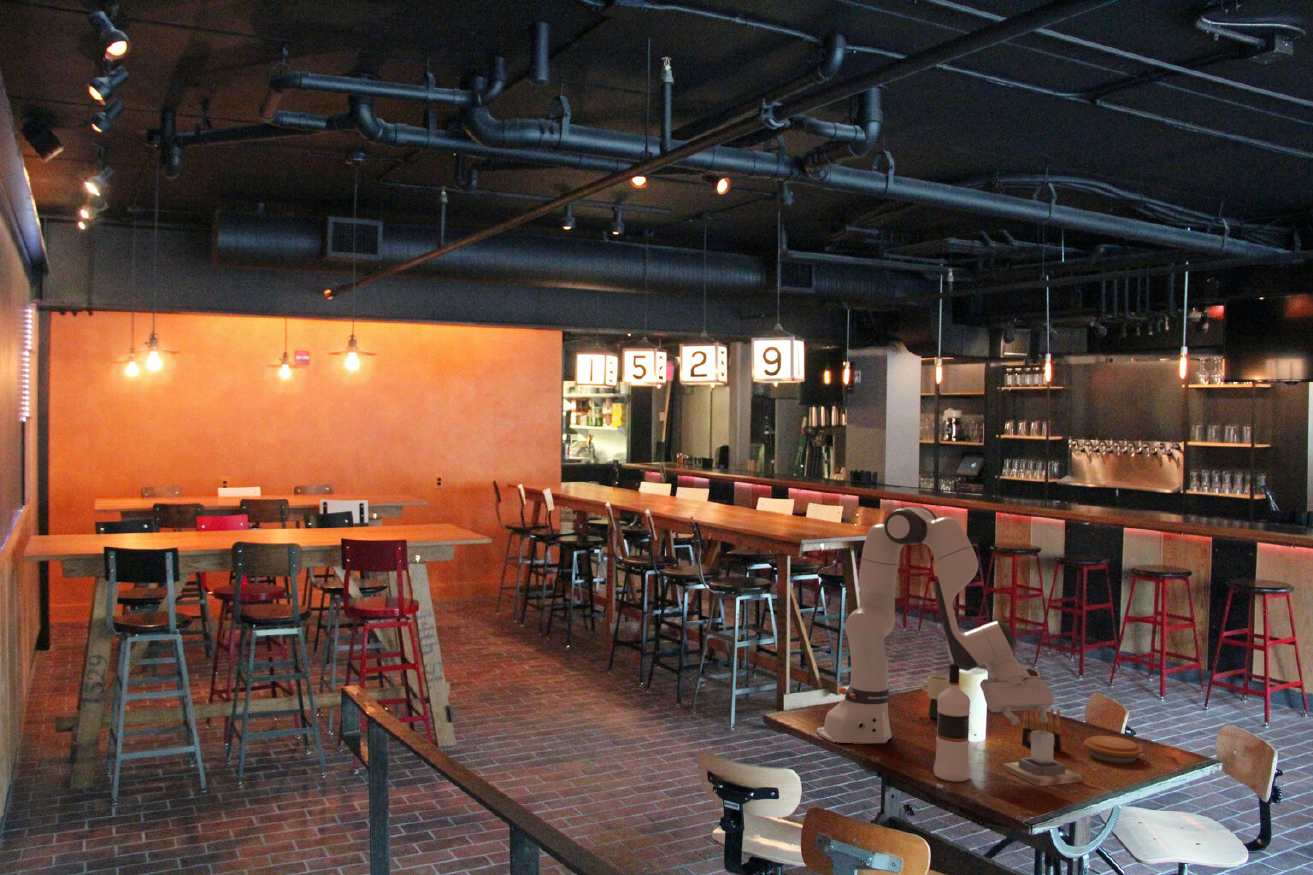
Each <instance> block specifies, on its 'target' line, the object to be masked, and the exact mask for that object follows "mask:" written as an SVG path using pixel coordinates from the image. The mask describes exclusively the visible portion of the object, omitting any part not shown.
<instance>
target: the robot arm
mask: <svg viewBox="0 0 1313 875" xmlns="http://www.w3.org/2000/svg"><path fill="white" fill-rule="evenodd" d="M969 539H970V538H969V537H968V535H967V534H966V532H965V530H964V529H963V528H962V526H961V525H960V523H959V522H958V521H957V519H955V518H954V517H950V516H942V517H939V518H938V517H937V516H936V514H935V513H934V512H933V511H932V510H931V509H929V508H927V507H923V506H905V507H902V508H900V507H899V508H897V509H894V510H893V511H891V512H890V513H889V514H888V515H887V516H886V518H885V521H884V523H877V524H874V525H872V526H870V528H869V529H868V532H867V534H866V537H865V540H864V544H863V547H862V552H861V559H860V566H859V574H858V578H857V586H858V588H859V589H858V590H859V606H858V608H856V609H855V610H853V611H852V612H851V613H850V614H849V616H848V617H847V619H846V621H845V625H844V631H845V634H846V636H847V641H848V647H849V654H850V656H849V657H850V684H849V686H848V687H847V688H845V687H844V686H840V687H839V688H838V690H837V691H838V693H839V694H841V695H842V696H843V695H844V699H842V700H841V701H840V702H839V703H838V704H837V705H835V706H833V707H832V709H830V710H829V711H828V712H827V713H826V715H825V720H824V725H823V726H822V727H817V728H816V734H817V733H818V734H817V735H818V736H820V737H821V736H822V737H821V738H823V737H824V738H825V740H826V739H827V741H828V742H832V743H835V742H842V743H844V742H845V743H847V742H848V743H852V742H854V743H853V744H887V743H888V740H889V739H892V737H893V735H892V731H891V730H892V729H891V727H890V720H889V709H888V708H889V707H888V706H889V703H890V702H889V701H890V689H889V687H888V685H889V684H888V682H889V661H888V659H887V655H886V647H885V638H886V637H887V636H889V635H890V634H891V633H892V631H893V629H894V628H895V624H896V615H895V612H896V611H895V610H896V598H895V597H896V595H895V594H896V583H897V578H898V577H897V576H898V569H899V562H900V556H901V551H902V549H903V547H904V546H908V545H909V546H911V545H918V544H924V545H926V546H927V547H928V548H929V550H930V552H931V553H932V555H933V557H934V561H935V562H936V565H937V569H938V575H937V579H936V580H935V582H934V592H935V598H936V601H937V608H938V611H939V615H940V619H941V623H942V628H943V631H944V635H945V638H946V650H947V654H948V657H949V660H950V662H951V663H956V664H959V665H960V666H959V669H960V670H962V671H967V672H968V671H971V670H973V669H974V668H977V667H979V666H980V665H983V664H984V665H985V666H986V668H987V671H988V675H989V677H990V679H986V678H984V679H982V680H981V682H980V683H979V686H980V689H981V691H982V694H983V698H984V701H985V703H986V706H987V707H988V709H989V710H990V711H991V712H992V713H998V712H999V713H1000V712H1002V715H1004V716H1005V717H1006V718H1007V719H1009V720H1010V723H1011V725H1013V726H1018V725H1019V724H1021V720H1020V718H1019V716H1018V715H1015V714H1014V713H1013V712H1014V711H1015V712H1016V711H1025V710H1029V711H1031V710H1034V709H1035V710H1038V712H1040V717H1039V720H1040V722H1041V723H1047V722H1048V723H1049V717H1048V715H1047V716H1046V709H1047V710H1048V709H1049V708H1051V707H1052V705H1053V704H1054V703H1055V702H1054V700H1055V699H1054V695H1053V694H1052V692H1051V691H1050V689H1049V687H1048V685H1047V684H1046V682H1045V681H1044V680H1042V679H1041V673H1040V672H1039V671H1038V670H1036V669H1032V668H1029V667H1025V666H1023V665H1020V662H1019V661H1018V660H1017V659H1016V658H1015V656H1014V653H1015V652H1016V649H1017V645H1018V642H1017V639H1016V638H1015V637H1014V636H1015V635H1013V633H1012V631H1011V630H1010V626H1009V624H1007V623H1005V622H1003V621H1000V620H994V621H990V622H987V623H985V624H982V625H980V626H978V627H975V628H973V629H970V630H968V631H965V632H963V631H960V630H959V625H958V621H957V617H956V614H955V609H954V605H953V604H954V599H955V597H956V596H957V595H958V594H959V593H960V592H961V591H962V590H963V589H964V588H965V587H966V586H967V585H968V584H969V583H970V582H971V581H972V580H973V579H974V578H975V577H976V574H977V573H978V570H979V560H978V558H977V555H976V552H975V549H974V547H973V545H972V543H971V542H970V540H969ZM824 738H823V739H824ZM857 742H859V743H857ZM886 742H887V743H886Z"/></svg>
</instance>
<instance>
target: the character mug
mask: <svg viewBox="0 0 1313 875" xmlns="http://www.w3.org/2000/svg"><path fill="white" fill-rule="evenodd" d="M926 685H927V687H926ZM921 687H922V692H923V691H924V692H927V696H928V698H931V699H930V701H929V707H928V708H929V709H928V712H927V713H928V714H927V715H928V716H929V717H931V718H932V719H936V720H938V710H937V708H938V704H937V698H938V696H939V694H940V693H941V692H943V691H944V690H946V689H948V688H949V676H943V675H929V676H928V677H927V680H924V681H922V686H921Z"/></svg>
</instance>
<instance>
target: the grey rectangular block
mask: <svg viewBox="0 0 1313 875" xmlns="http://www.w3.org/2000/svg"><path fill="white" fill-rule="evenodd" d="M1054 739H1055V738H1054V734H1053V733H1050V732H1048V731H1045V730H1035V731H1031V747H1030V757H1031V759H1030V763H1033V764H1035V765H1037V766H1039V767H1046V766H1053V760H1054V751H1053V748H1054Z"/></svg>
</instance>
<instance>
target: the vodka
mask: <svg viewBox="0 0 1313 875" xmlns="http://www.w3.org/2000/svg"><path fill="white" fill-rule="evenodd" d="M959 666H960V665H959V664H956V663H952V662H951V663H949V668H948V669H949V671H948V672H949V675H948V678H949V688H948V689H946V690H944V691H943V692H941V693H940V694H939V696H938V698H937V704H938V708H937V710H938V719H937V729H936V737H935V738H936V740H935V741H936V751H935V760H934V765H933V774H934V775H935V777H936V778H938V779H939V780H942V781H946V782H951V783H961V782H962V783H963V782H965V781H968V780H969V779H970V778H971V777H970V776H971V769H970V762H969V761H970V760H969V745H970V744H969V743H970V740H969V739H970V738H969V733H970V731H969V730H970V726H969V725H970V714H971V712H970V708H971V700H970V698H969V696H968V695H967V694H966V693H965V692H964V691H963V690H961V689H960V670H961V669H959Z"/></svg>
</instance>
